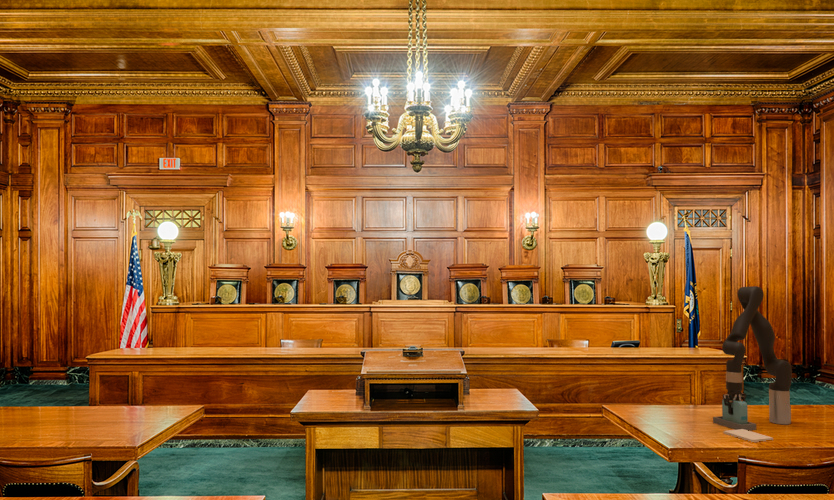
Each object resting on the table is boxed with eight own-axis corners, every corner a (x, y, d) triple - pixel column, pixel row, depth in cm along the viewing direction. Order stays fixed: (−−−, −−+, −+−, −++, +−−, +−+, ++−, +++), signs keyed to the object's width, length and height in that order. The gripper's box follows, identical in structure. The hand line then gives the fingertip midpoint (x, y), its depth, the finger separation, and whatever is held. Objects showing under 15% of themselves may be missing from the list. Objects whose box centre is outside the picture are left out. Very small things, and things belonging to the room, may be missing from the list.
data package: (748, 426, 287) (747, 402, 288) (740, 426, 286) (740, 402, 286) (729, 420, 299) (728, 397, 299) (722, 420, 297) (721, 397, 298)
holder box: (727, 421, 302) (727, 415, 302) (756, 429, 286) (756, 423, 286) (713, 422, 298) (713, 417, 299) (741, 431, 282) (741, 425, 283)
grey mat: (743, 431, 282) (743, 429, 282) (773, 440, 267) (773, 437, 267) (723, 433, 278) (723, 430, 278) (752, 442, 263) (752, 439, 263)
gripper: (738, 378, 299) (738, 411, 298) (717, 380, 294) (718, 413, 293) (750, 381, 292) (751, 414, 291) (730, 382, 287) (730, 416, 286)
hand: (734, 413), depth 292 cm, fingers closed on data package, 4 cm apart
